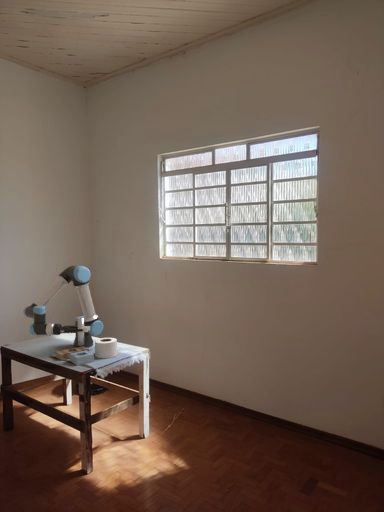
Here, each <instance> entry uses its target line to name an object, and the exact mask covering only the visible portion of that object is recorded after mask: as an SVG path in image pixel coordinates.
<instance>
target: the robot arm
mask: <svg viewBox="0 0 384 512" xmlns="http://www.w3.org/2000/svg"><path fill="white" fill-rule="evenodd" d="M91 276H92V274H91V271H90V270H89V268H88V267H87V266H83V265H69V266H67V267H66V268H65V269H64V270H62V271H61V272H60V273H59V274H58V275H57V278H56V279H55V280H54V281H53V282H52V283H51V284H50V285H49V286H48V287H47V288H46V289H45V291H43V292H42V293H41V294H40V295H39V296H38V297H37V298H36V299H35V300H34V301H33V302H32V304H30V306H29V305H28V306H26V307H25V308H24V309H23V311H22V312H23V316H25V317H26V318H29V319H33V323H31V325H30V327H29V333H30V335H33V336H49V337H51V336H60V335H61V334H75V337H74V340H73V347H72V348H76V347H81V346H84V347H86V348H90V347H92V346H94V339H93V337H96V336H99V335H100V334H101V333H102V332H103V330H104V323H103V322H102V321H101V320H100V318H99V315H98V314H96V310H95V306H94V302H93V299H92V294H91V290H90V287H89V284H90V278H91ZM70 283H72V284H73V287H74V288H76V292H77V296H78V299H79V304H80V306H81V310H82V314H83V315H81V316H76V317H75V319H74V325H69V324H67V325H63V326H62V324H61V323H47V319H46V317H47V316H46V315H47V313H46V306H47V305H48V304H49V303H50V301H51V300H52V299H54V297H55V296H56V295H57V294H58V293H59V292H60V291H61V290H63V288H64V287H65V286H68V285H69V284H70ZM78 318H84V328H78ZM78 332H84V345H78ZM92 336H93V337H92Z"/></svg>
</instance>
